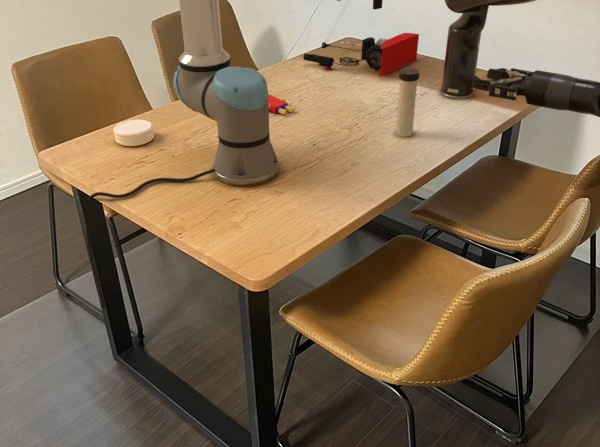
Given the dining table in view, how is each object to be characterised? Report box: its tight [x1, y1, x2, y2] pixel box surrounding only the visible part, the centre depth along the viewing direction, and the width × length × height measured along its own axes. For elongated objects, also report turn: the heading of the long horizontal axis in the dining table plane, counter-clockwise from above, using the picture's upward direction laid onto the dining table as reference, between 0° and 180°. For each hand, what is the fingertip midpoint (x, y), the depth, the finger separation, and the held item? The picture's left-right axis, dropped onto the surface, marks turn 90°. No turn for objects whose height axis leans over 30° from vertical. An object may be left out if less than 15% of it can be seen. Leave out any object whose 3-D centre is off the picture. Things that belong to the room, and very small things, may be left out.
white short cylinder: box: [113, 118, 155, 147], centre depth 161 cm, size 10×10×4 cm
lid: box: [398, 67, 420, 81], centre depth 154 cm, size 5×5×2 cm
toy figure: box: [268, 94, 294, 115], centre depth 178 cm, size 2×7×12 cm
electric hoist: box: [302, 32, 420, 77], centre depth 210 cm, size 10×27×30 cm
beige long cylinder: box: [395, 79, 418, 138], centre depth 158 cm, size 4×4×16 cm
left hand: (358, 4), depth 166 cm, fingers open, 13 cm apart
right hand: (481, 78), depth 144 cm, fingers open, 8 cm apart
